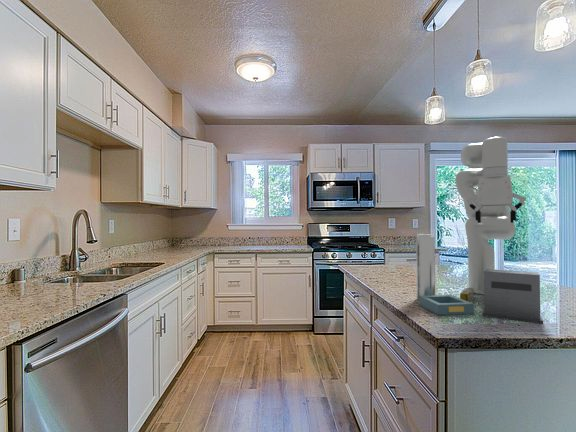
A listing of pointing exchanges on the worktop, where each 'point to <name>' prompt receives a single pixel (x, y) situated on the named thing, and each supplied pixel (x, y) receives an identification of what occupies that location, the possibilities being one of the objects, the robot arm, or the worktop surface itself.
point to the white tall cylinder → (425, 264)
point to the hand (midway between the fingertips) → (495, 222)
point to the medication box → (467, 294)
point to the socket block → (446, 305)
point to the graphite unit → (512, 295)
